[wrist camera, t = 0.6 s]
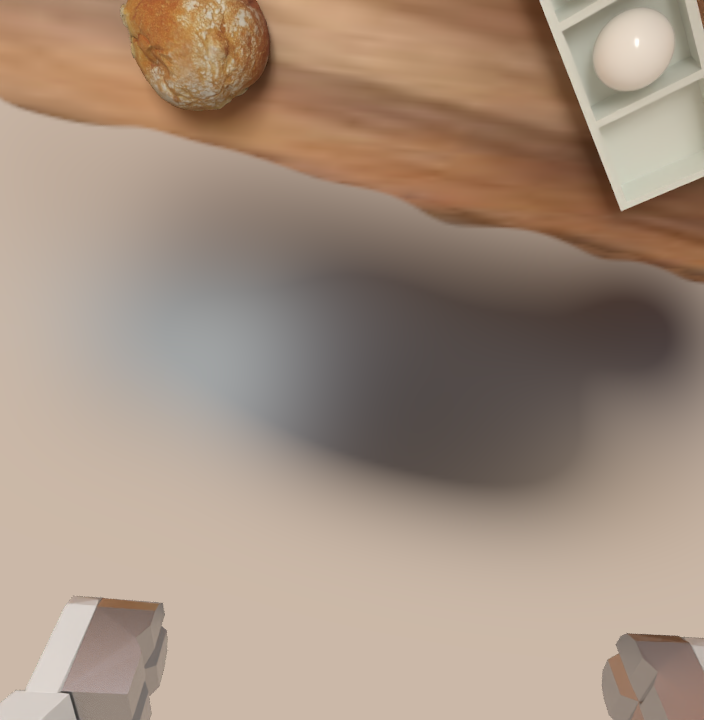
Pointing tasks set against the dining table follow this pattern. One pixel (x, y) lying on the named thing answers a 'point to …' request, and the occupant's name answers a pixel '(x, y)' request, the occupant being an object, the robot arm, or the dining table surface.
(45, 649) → the robot arm
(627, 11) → the white egg
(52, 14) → the dining table surface
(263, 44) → the bread roll
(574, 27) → the egg carton
